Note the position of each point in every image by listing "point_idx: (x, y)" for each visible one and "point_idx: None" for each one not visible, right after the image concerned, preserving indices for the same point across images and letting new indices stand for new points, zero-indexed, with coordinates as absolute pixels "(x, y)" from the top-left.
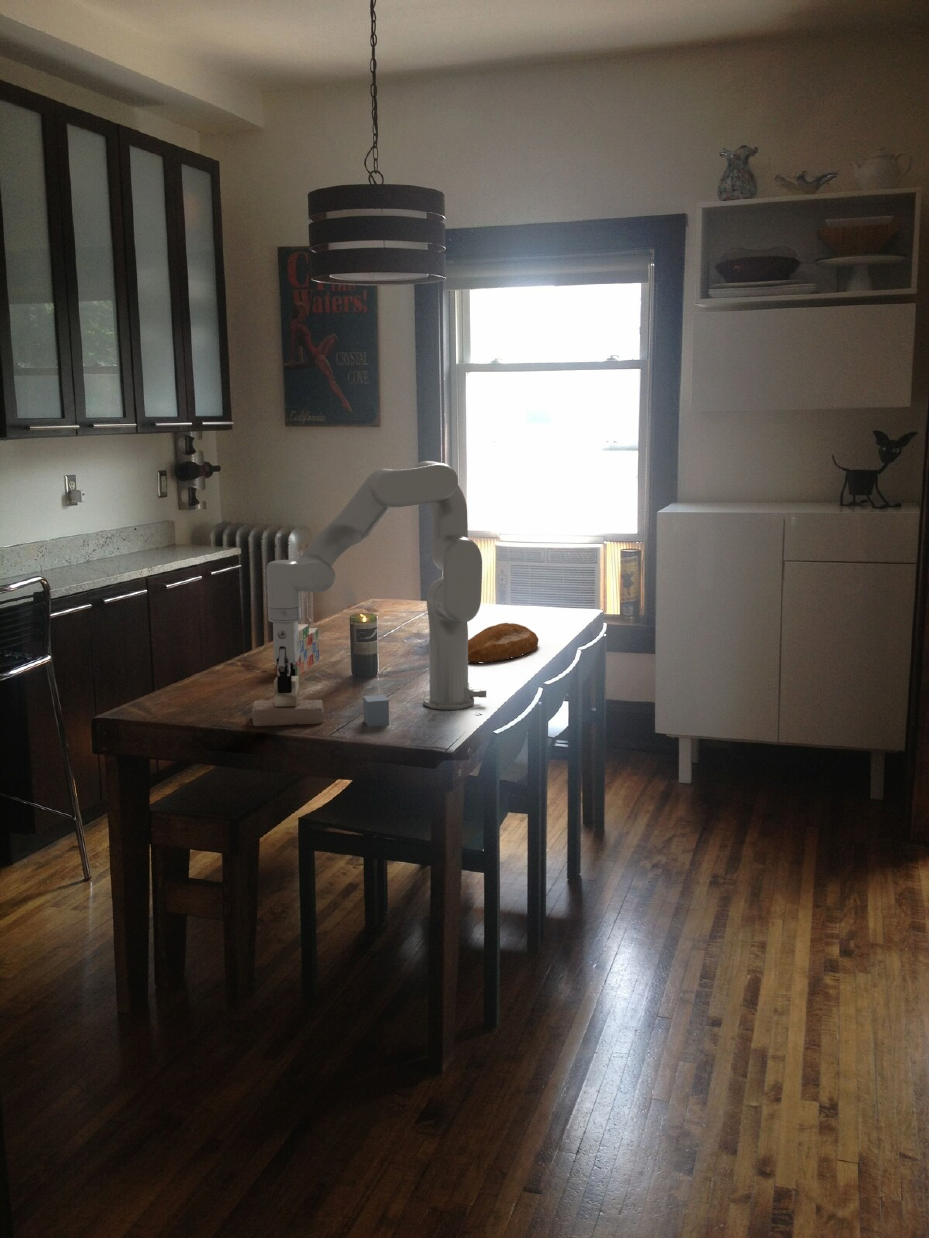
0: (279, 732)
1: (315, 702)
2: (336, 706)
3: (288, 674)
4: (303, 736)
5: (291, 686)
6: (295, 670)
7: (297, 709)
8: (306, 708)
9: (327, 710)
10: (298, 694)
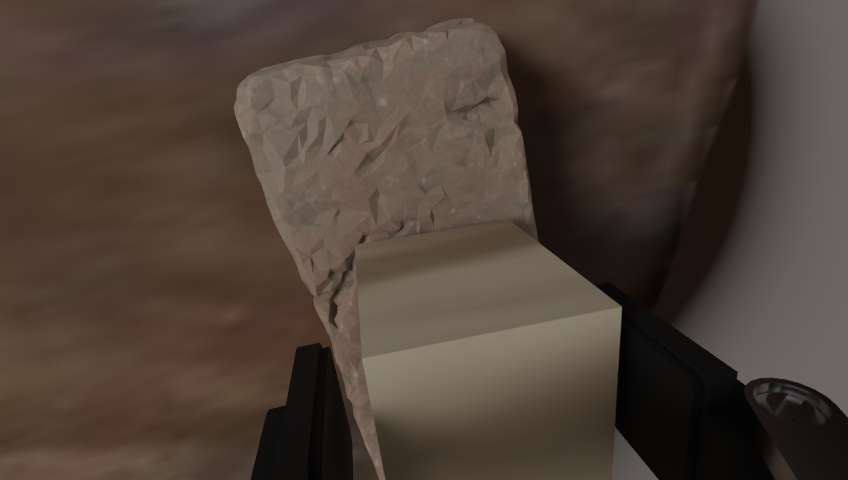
0: (635, 227)
1: (351, 111)
2: (18, 18)
3: (822, 407)
4: (708, 85)
5: (640, 305)
6: (292, 457)
7: (530, 198)
8: (521, 138)
9: (159, 67)
10: (395, 259)
